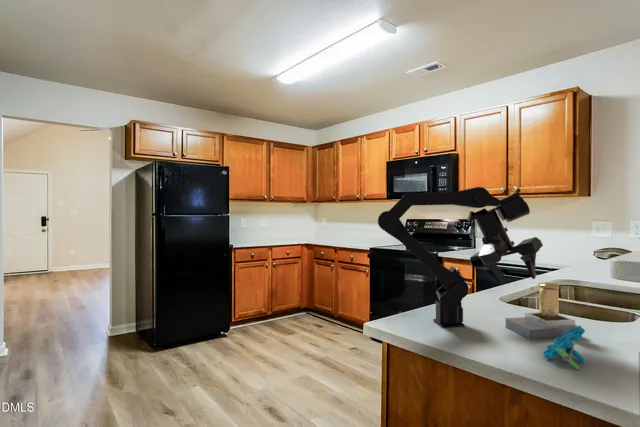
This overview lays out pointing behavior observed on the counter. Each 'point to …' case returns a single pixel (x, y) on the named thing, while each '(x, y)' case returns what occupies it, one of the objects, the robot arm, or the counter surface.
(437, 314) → the robot arm
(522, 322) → the jig
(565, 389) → the counter surface
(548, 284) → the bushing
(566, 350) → the blue green toy
